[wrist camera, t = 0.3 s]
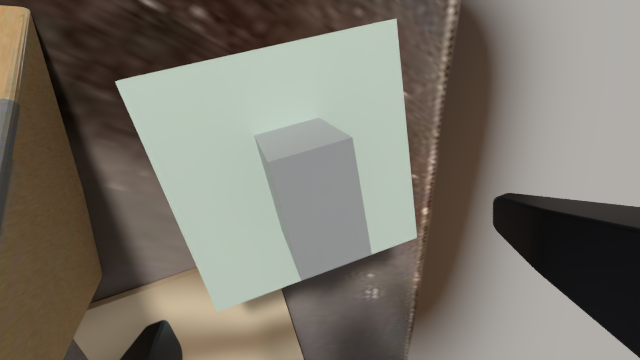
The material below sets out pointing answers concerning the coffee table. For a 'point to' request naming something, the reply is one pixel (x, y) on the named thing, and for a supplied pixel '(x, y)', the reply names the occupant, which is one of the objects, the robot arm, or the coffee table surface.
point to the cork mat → (190, 323)
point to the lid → (281, 157)
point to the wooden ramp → (38, 207)
